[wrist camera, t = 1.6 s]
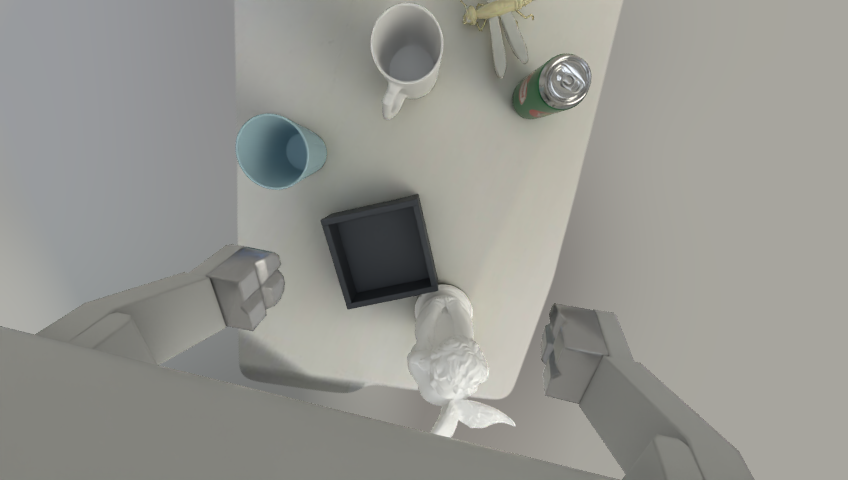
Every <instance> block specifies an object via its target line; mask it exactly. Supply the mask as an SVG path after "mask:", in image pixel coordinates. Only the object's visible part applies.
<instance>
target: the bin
mask: <svg viewBox="0 0 848 480" xmlns="http://www.w3.org/2000/svg"><path fill="white" fill-rule="evenodd" d="M321 224H322V226H323V230H324V233H325V236H326V240H327V243H328V246H329V250H330V253H331V256H332V259H333V263H334V266H335V269H336V273H337V276H338V279H339V282H340V286H341V289H342V292H343V296H344V299H345V302H346V306H347V309H352V308H357V307H362V306H367V305H372V304H377V303H382V302H387V301H392V300H397V299H402V298H406V297H411V296H416V295H421V294H426V293H431V292H436V291H439V290H438V278H437V273H436V269H435V265H434V260H433V256H432V251H431V247H430V243H429V238H428V234H427V229H426V225H425V221H424V216H423V212H422V208H421V203H420V199H419V195H413V196H409V197H404V198H400V199H395V200H391V201H386V202H382V203H377V204H373V205H368V206H364V207H359V208H355V209H351V210H346V211H342V212H337V213H333V214H330V215H328V216H327V217H325V218H323V219H322V220H321Z"/></svg>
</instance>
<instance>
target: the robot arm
mask: <svg viewBox="0 0 848 480" xmlns="http://www.w3.org/2000/svg"><path fill="white" fill-rule="evenodd" d="M280 265H281V262H280V258H279V255H278V254H276V253H274V252H269V251H265V250H260V249H255V248H250V247H244V246H239V245H234V244H231V245H226V246H225V247H223V248H222V249H220V250H219V251H218V252H216V253H215V254H214V255H212V256H211V257H210V258H208V259H207V260H206V261H204V262H203V263H201V264H200V265H199V266H198V267H196V268H195V269H193V270H192V271H191V272H189V273H185V272H183V273H180V274H177V275H173V276H170V277H167V278H164V279H160V280H158V281H154V282H151V283H148V284H144V285H141V286H138V287H135V288H132V289H128V290H125V291H122V292H119V293H116V294H113V295H110V296H106V297H103V298H100V299H96V300H93V301H90V302H87V303H84V304H82V305H81V306H80V307H78V308H76V309H75V310H73V311H71V312H70V313H69V314H67V315H65V316H64V317H62V318H61V319H59V320H57V321H56V322H54V323H53V324H51V325H49V326H48V327H46V328H45V329H43V330H41V331H40V332H38V333H37V334H35V335H34V334H30V333H26V332H22V331H17V330H14V329H10V328H5V327H2V326H0V480H619V479H615V478H610V477H607V476H602V475H599V474H595V473H590V472H586V471H582V470H578V469H574V468H570V467H566V466H562V465H558V464H554V463H550V462H546V461H542V460H538V459H534V458H530V457H526V456H522V455H518V454H514V453H510V452H506V451H502V450H498V449H494V448H489V447H486V446H481V445H478V444H474V443H470V442H465V441H461V440H457V439H453V438H449V437H445V436H441V435H437V434H433V433H429V432H425V431H421V430H417V429H413V428H409V427H405V426H400V425H396V424H392V423H388V422H384V421H380V420H376V419H372V418H368V417H364V416H360V415H356V414H352V413H348V412H344V411H340V410H336V409H332V408H328V407H324V406H320V405H316V404H312V403H308V402H304V401H300V400H296V399H291V398H288V397H284V396H280V395H276V394H272V393H268V392H264V391H260V390H256V389H252V388H248V387H244V386H240V385H236V384H231V383H228V382H224V381H219V380H215V379H211V378H207V377H203V376H199V375H195V374H191V373H187V372H183V371H179V370H175V369H171V368H167V367H163V366H159V365H160V364H162V363H163V362H165V361H167V360H169V359H171V358H173V357H174V356H176V355H178V354H180V353H181V352H183V351H185V350H187V349H189V348H190V347H192V346H194V345H196V344H198V343H199V342H201V341H203V340H204V339H207V338H208V337H210V336H212V335H214V334H216V333H217V332H219V331H221V330H223V329H224V328H226V326H229V327H234V328H239V329H244V330H249V331H253V330H254V329H255V328H256V327H257V326H258V324H259V323H260V322H261V321H262V320H263V319H264V318H265V316H266V309H268V308H270V307H272V306H275V305H276V304H277V302H278V301H279V300H280V299H281V296H282V294H283V291H284V285H285V282H284V276H283V275H282V274H281V273H280V271H279V270H278V268H279V267H280ZM549 317H550V323H549V324H548V325H546V326H545V328H544V332H543V335H542V341H541V360H542V361H543V362H544V364H545V365H546V366H545V369H544V372H543V381H544V391H545V396H549V397H553V398H557V399H561V400H565V401H569V402H573V403H578V404H579V406H580V408H581V409H582V411H583V412H584V414H585V415H586V417H587V418H588V420H589V421H590V423H591V424H592V426H593V427H594V428H595V430H596V431H597V433H598V434H599V436H600V437H601V439H602V440H603V442H604V443H605V445H606V446H607V448H608V449H609V450H610V452H611V453H612V455H613V456H614V458H615V459H616V461H617V462H618V464H619V465H620V466H621V468H622V470H623V471H624V473H625V474H626V475H625V476H624V478H623V479H622V480H754V478H753V476H752V474H751V472H750V471H749V469H748V467H747V465H746V463H745V461H744V460H743V458H742V456H741V454H740V452H739V451H738V450H737V449H736V448H735V447H734V446H733V445H731V444H730V443H729V442H728V441H727V440H726V439H725V438H724V437H723V436H721V435H720V434H719V433H718V432H717V431H716V430H715V429H714V428H712V427H711V426H710V425H709V424H708V423H707V422H706V421H705V420H704V419H702V418H701V417H700V416H699V415H698V414H697V413H696V412H695V411H693V410H692V409H691V408H690V407H689V406H688V405H687V404H686V403H684V401H682V400H681V399H680V398H679V397H678V396H677V395H676V394H675V393H674V392H672V391H671V390H670V389H669V388H668V387H667V386H666V385H665V384H663V383H662V382H661V381H660V380H659V379H658V378H657V377H656V376H655V375H653V374H652V373H651V372H650V371H649V370H648V369H647V368H646V367H644V366H643V365H642V364H641V363H638V362H634V360H633V357H632V355H631V352H630V349H629V347H628V344H627V342H626V339H625V336H624V334H623V331H622V329H621V326H620V323H619V321H618V319H617V316H616V315H615V314H614V313H612V312H605V311H599V310H590V309H584V308H578V307H573V306H566V305H561V304H556V303H554V304H553V306H552V308H551V310H550V313H549Z"/></svg>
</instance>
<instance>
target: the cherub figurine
mask: <svg viewBox="0 0 848 480" xmlns="http://www.w3.org/2000/svg"><path fill="white" fill-rule="evenodd" d="M438 290H439V291H436V292H431V293H426V294H421V295H420V296H419V297H418V299H417V301H416V304H415V309H414V313H415V318H416V324H415V336H416V340H417V342H416V344H415V345H414V347H413V348H412V350H411V353H409V354H408V357H407V359H408V369H409V372H410V374H411V375H412V377H413V378H414V380H415V381H416V383H417V384H418V389H419V392H420V394H421V395H422V397H423V398H424V399H425V400H426V401H428V402H429V403H431V404H434V405H437V406H440V405H442V407H441V411H440V416H439V417H438V419H437V422H436V423H435V424H434V426H433V428H432V429H431V431H430V433H433V434H437V435H441V436H445V437H449V438H450V437H452V435H453V433H454V430H455V429H456V427H457V422H458V419H459V420H460V421H461V422H463V423H464V424H466V425H468V426H469V427H470V428H484V427H487V426H490V425H491V424H496V423H507V424H509V425H512V426H515V423H514V421H513V420H512V419H511V418H510V417H508V416H506V414H505V413H502V412H501V411H499V410H498V409H496V408H493V407H491V406H489V405H485V404H483V403H479V402H476V401H470V400H466V399H467V398H468V397H469V396H470V395H472V394H473V393H474V392H476V391H477V386H478V385H479V384H481V383H484V382H485V381H486V380H487V378H488V376H489V365H488V364H487V361H486V359H485V357H484V355H483V354H482V350H481V349H480V348H479V344H476V342H475V341H473V335H474V327H473V322H472V317H473V308H472V304H471V302H470V300H469V298H468V297H467V296H466V294H465V293H464V292H463V291H461V290H460V289H458V288H457V287H455V286H452V285H446V284H438Z"/></svg>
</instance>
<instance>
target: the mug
mask: <svg viewBox="0 0 848 480" xmlns="http://www.w3.org/2000/svg"><path fill="white" fill-rule="evenodd" d="M370 47H371V54H372V57H373V60H374V62H375V64H376V66H377V68H378V69H379V71H380V72H381V73H382V75H383V76H384V77H385V79H386V80H387V81H388V88H387V91H386V93H385V95H384V97H383V99H382V104H383V105H382V112H383V117H384V118H385V119H387V120H390V119H392V118H393V117H394V116H395V115H396V114H397V113H398V112H399V111H400V109H401V106H402V104H403V102H404V100H405V98H408V99H417V98H421V97H423V96H425V95H426V94H428V93H429V92H430V91H431V90H432V88H433V87H434V85H435V83H436V80H437V77H438V72H439V68H440V63H441V59H442V53H443V35H442V31H441V28H440V25H439V23H438V21H437V20H436V18H435V17H434V15H433V14H432V13H431V12H430V11H429V10H427V9H426V8H425V7H423V6H421V5H419V4H415V3H399V4H396V5H393V6H391V7H389V8H388V9H386V10H385V11H384V12H383V13H382V14H381V15H380V16H379V18H378V19H377V21H376V22H375V24H374V27H373V30H372V33H371V40H370Z"/></svg>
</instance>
